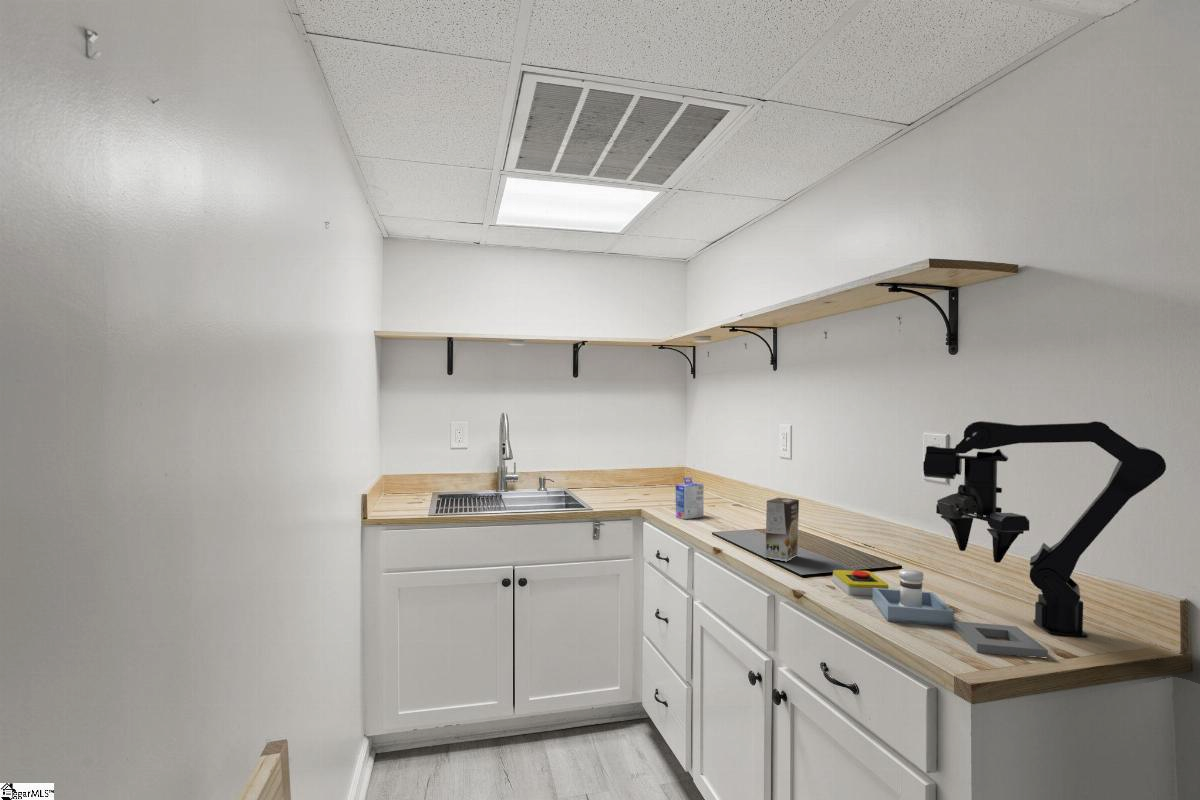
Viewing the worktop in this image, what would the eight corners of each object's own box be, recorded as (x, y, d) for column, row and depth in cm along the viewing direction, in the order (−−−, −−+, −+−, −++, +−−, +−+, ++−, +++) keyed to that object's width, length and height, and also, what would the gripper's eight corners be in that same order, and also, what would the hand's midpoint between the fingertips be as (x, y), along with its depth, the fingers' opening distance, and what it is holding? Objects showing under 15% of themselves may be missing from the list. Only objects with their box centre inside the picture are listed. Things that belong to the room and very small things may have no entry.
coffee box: (787, 563, 159) (789, 503, 159) (764, 559, 163) (765, 500, 163) (798, 556, 167) (799, 499, 167) (775, 552, 171) (776, 496, 171)
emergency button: (851, 580, 132) (828, 562, 147) (850, 600, 132) (827, 580, 147) (893, 582, 131) (866, 563, 146) (893, 601, 131) (866, 581, 146)
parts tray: (932, 606, 128) (932, 592, 128) (953, 626, 116) (954, 611, 116) (872, 601, 130) (872, 587, 130) (887, 621, 118) (887, 606, 118)
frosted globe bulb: (918, 607, 125) (919, 569, 125) (925, 615, 120) (926, 575, 120) (896, 606, 125) (896, 568, 125) (902, 613, 121) (903, 574, 121)
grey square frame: (1016, 634, 113) (1016, 626, 113) (1047, 658, 102) (1047, 650, 102) (952, 628, 115) (953, 620, 115) (976, 652, 104) (977, 643, 104)
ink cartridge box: (694, 514, 225) (694, 476, 225) (704, 517, 220) (705, 478, 220) (674, 517, 219) (675, 478, 219) (684, 519, 215) (685, 479, 214)
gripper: (914, 475, 131) (913, 546, 131) (981, 488, 113) (980, 570, 113) (959, 475, 133) (958, 545, 133) (1032, 488, 115) (1031, 568, 115)
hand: (979, 556), depth 123 cm, fingers open, 9 cm apart
